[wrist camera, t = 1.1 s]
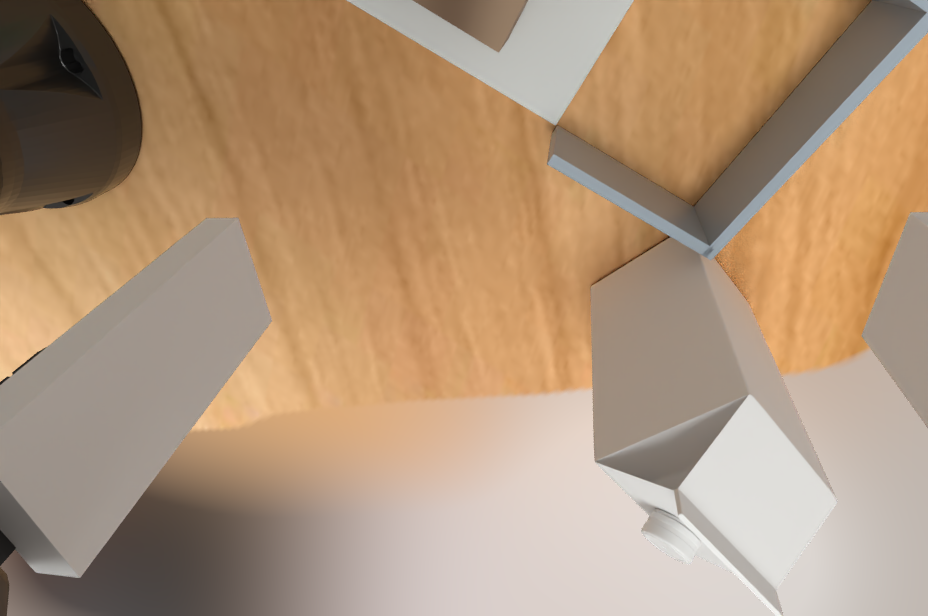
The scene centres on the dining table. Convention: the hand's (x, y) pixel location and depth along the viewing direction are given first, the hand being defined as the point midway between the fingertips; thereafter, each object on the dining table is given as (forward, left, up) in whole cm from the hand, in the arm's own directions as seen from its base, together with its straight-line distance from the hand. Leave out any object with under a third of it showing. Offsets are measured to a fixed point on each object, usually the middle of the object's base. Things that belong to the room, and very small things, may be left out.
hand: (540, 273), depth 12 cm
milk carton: (+13, -8, -22) cm, 27 cm away
